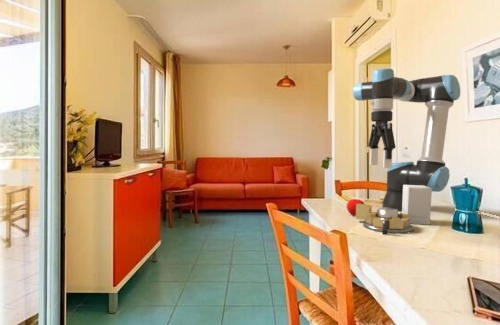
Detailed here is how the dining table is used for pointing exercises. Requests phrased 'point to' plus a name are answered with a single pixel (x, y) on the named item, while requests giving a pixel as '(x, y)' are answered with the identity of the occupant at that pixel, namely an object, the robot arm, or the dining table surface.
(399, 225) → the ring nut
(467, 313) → the dining table surface
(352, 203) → the apple
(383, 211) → the hub base
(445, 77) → the robot arm
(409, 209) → the supplement box
